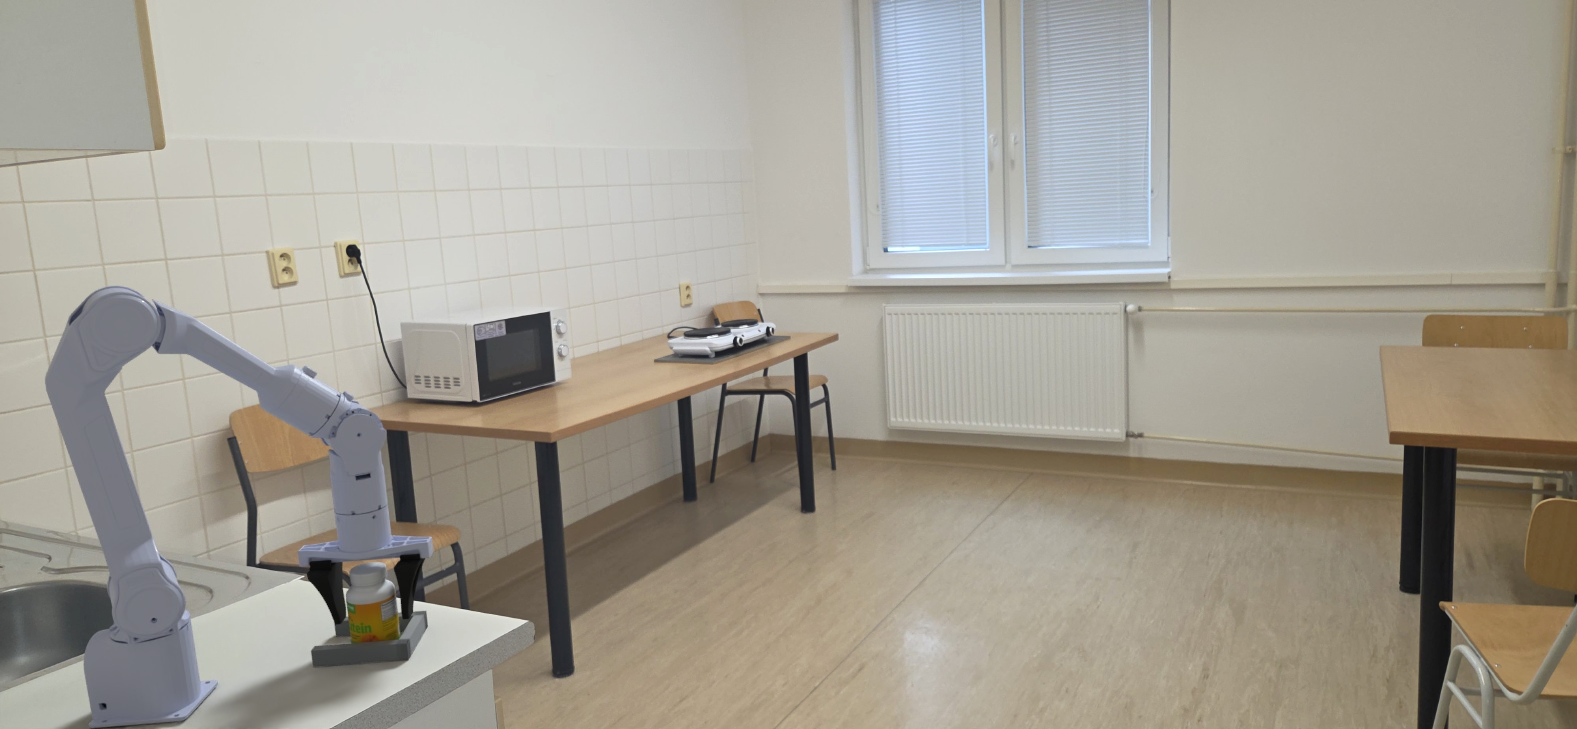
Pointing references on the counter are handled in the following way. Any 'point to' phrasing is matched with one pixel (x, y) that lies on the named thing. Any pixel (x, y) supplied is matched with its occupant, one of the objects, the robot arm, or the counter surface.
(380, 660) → the gray u-shaped bracket
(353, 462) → the robot arm
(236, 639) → the counter surface
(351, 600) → the supplement bottle
